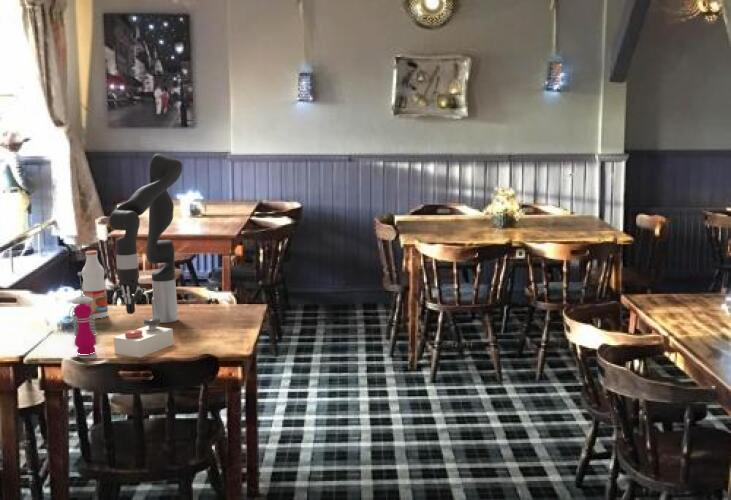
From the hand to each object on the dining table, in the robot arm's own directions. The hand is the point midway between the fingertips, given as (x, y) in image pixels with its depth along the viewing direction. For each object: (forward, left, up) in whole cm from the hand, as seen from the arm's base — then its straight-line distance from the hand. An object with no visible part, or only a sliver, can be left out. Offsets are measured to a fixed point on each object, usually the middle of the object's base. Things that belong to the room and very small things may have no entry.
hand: (131, 313), depth 339 cm
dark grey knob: (0, +10, -10) cm, 14 cm away
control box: (0, +5, -15) cm, 15 cm away
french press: (-36, +10, -15) cm, 40 cm away
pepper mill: (-16, -8, -15) cm, 23 cm away
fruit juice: (-53, +34, -15) cm, 64 cm away
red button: (0, 0, -12) cm, 12 cm away
